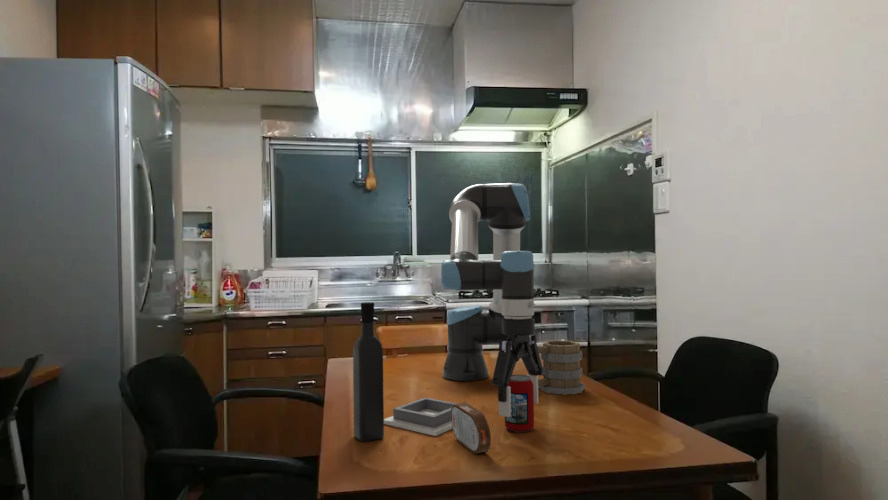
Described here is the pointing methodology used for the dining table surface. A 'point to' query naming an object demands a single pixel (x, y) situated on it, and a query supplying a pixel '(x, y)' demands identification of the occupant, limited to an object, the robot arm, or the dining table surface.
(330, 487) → the dining table surface
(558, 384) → the tankard
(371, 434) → the wine bottle
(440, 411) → the tray
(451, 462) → the dining table surface
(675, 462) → the dining table surface
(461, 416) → the tin
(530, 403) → the beverage can
